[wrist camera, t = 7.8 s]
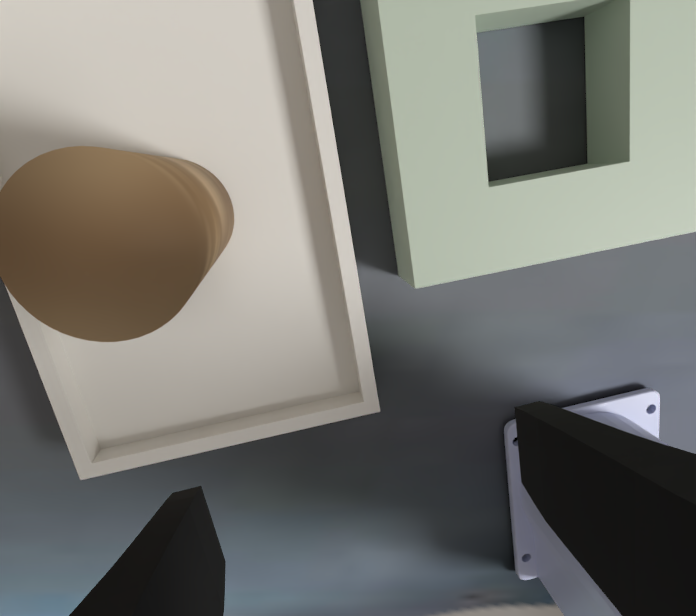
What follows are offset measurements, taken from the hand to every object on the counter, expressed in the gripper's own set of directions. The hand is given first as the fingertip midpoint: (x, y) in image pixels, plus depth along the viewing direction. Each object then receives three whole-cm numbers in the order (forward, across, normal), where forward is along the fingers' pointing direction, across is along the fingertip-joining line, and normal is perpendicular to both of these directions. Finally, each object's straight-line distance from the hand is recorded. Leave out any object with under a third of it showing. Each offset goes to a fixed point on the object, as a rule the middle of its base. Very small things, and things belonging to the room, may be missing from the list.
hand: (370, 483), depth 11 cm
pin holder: (+10, -10, -8) cm, 16 cm away
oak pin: (+9, +4, -6) cm, 12 cm away
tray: (+10, +4, -6) cm, 13 cm away
